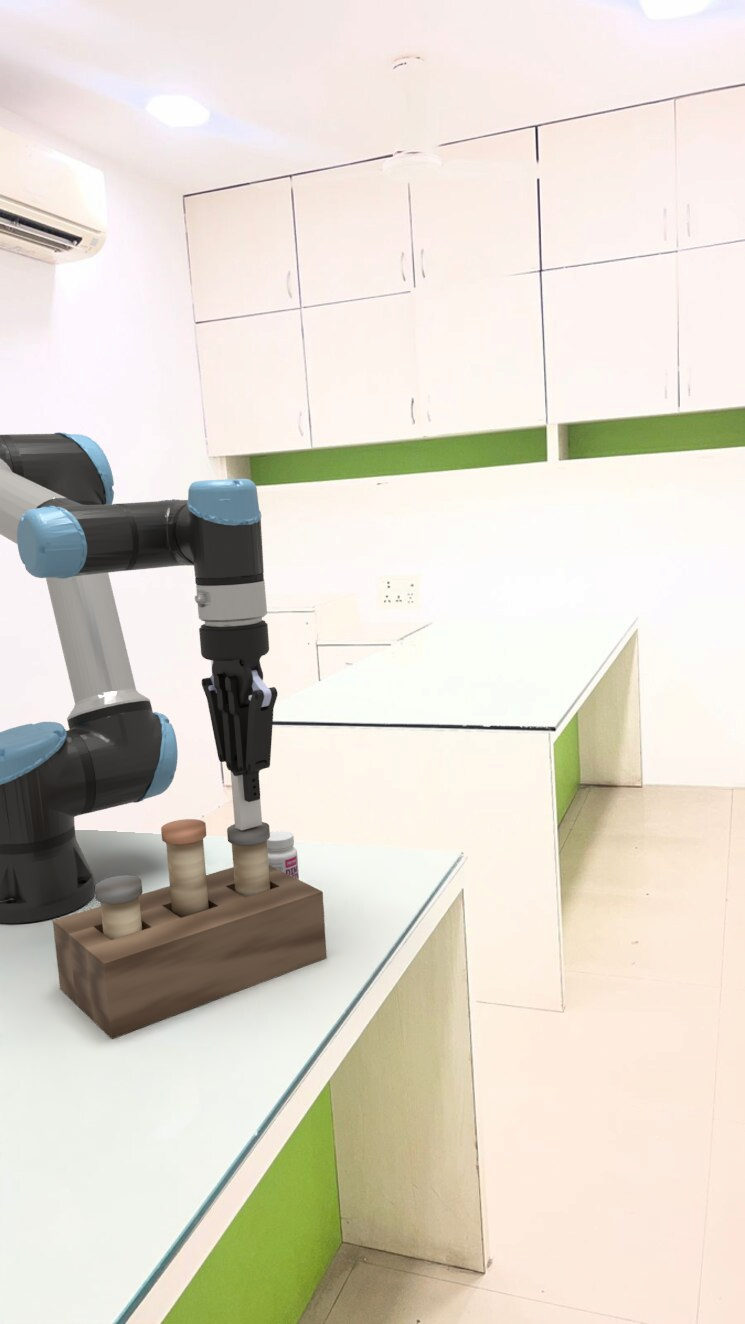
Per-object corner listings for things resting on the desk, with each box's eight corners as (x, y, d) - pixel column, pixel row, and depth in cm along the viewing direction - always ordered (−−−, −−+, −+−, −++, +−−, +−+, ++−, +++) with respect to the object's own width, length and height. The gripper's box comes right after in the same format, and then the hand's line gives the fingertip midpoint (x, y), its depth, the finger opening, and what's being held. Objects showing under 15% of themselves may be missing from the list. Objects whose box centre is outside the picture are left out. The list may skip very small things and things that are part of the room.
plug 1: (98, 990, 112) (87, 883, 110) (139, 976, 115) (130, 871, 113) (116, 1007, 108) (105, 896, 106) (159, 992, 111) (149, 884, 109)
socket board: (60, 989, 114) (52, 920, 113) (262, 920, 130) (258, 859, 128) (111, 1038, 103) (104, 963, 102) (326, 957, 118) (322, 891, 117)
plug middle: (162, 930, 116) (153, 826, 114) (201, 918, 119) (192, 816, 117) (182, 944, 112) (173, 836, 110) (221, 931, 115) (213, 826, 113)
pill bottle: (294, 904, 134) (290, 842, 133) (259, 903, 135) (254, 841, 134) (304, 889, 139) (300, 829, 137) (270, 888, 140) (265, 829, 138)
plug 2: (227, 928, 121) (219, 828, 119) (262, 916, 124) (255, 818, 122) (248, 941, 117) (240, 838, 115) (284, 928, 120) (277, 827, 118)
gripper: (175, 621, 117) (192, 821, 121) (232, 629, 107) (249, 848, 111) (233, 613, 122) (248, 806, 126) (293, 621, 112) (307, 831, 115)
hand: (248, 826), depth 118 cm, fingers closed
